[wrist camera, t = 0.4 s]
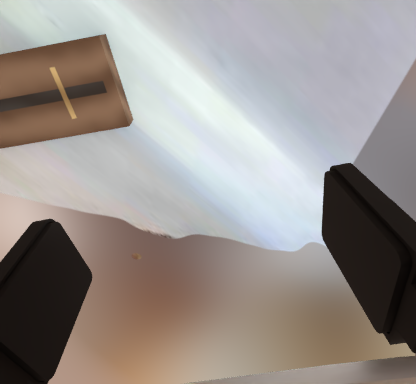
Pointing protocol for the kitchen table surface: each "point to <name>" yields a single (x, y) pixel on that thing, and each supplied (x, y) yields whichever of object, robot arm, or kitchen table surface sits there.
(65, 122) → the control board
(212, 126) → the kitchen table surface
